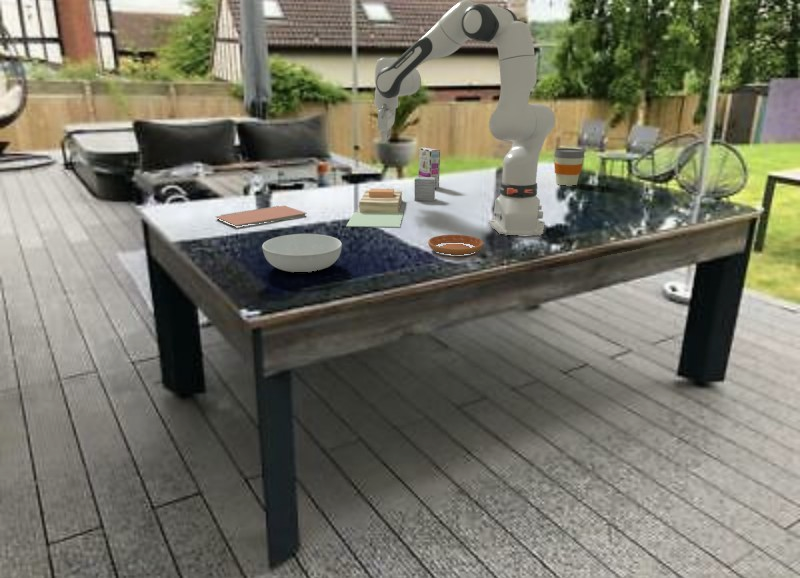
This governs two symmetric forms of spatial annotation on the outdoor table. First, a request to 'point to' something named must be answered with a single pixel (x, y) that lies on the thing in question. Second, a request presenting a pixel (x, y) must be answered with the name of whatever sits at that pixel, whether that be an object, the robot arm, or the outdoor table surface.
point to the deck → (381, 203)
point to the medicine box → (424, 189)
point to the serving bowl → (302, 252)
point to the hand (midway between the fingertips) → (386, 140)
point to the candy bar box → (429, 164)
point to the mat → (375, 219)
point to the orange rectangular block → (381, 193)
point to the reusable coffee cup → (568, 165)
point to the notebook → (261, 215)
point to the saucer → (455, 248)
